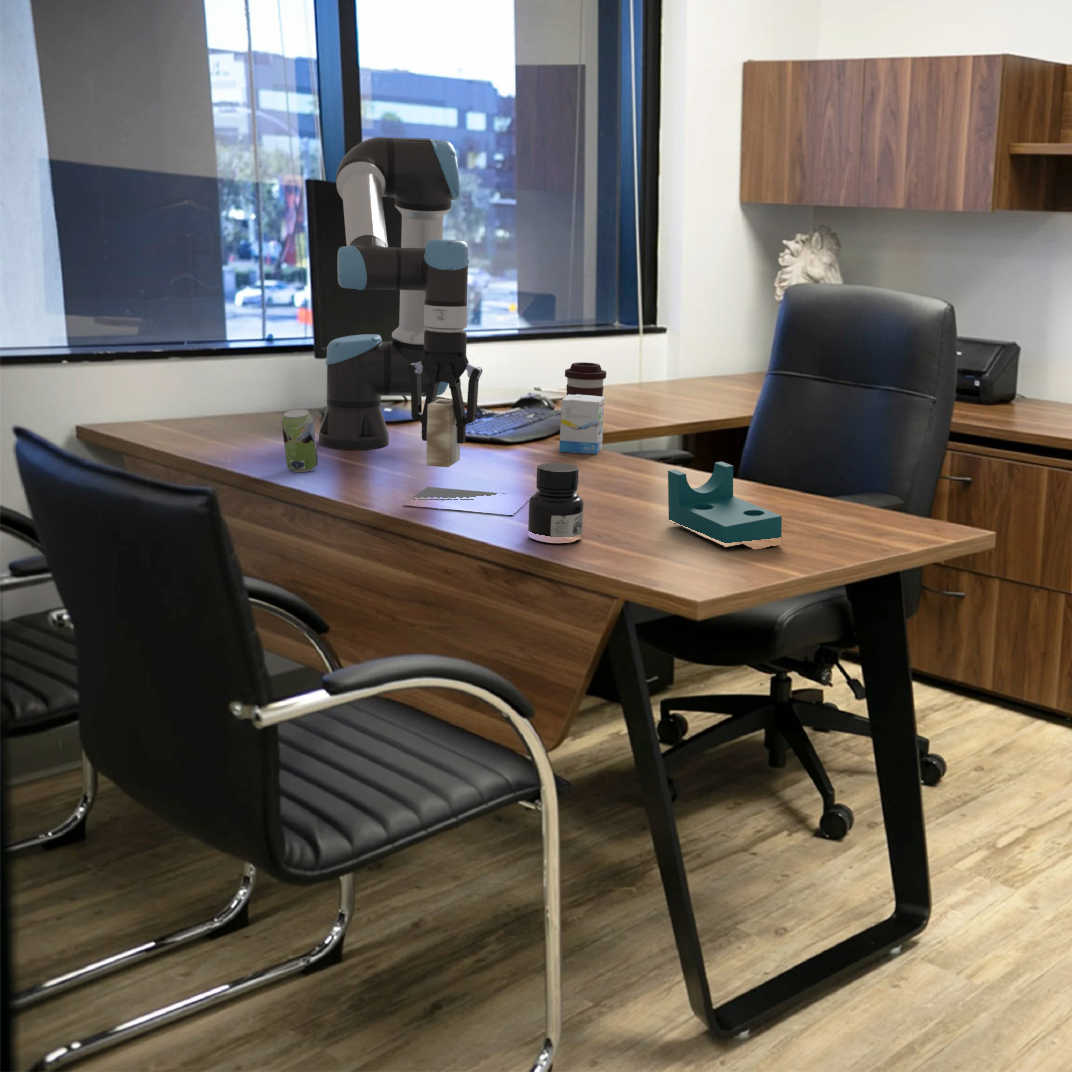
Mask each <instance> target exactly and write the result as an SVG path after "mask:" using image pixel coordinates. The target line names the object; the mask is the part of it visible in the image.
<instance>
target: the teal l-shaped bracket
mask: <svg viewBox="0 0 1072 1072" xmlns="http://www.w3.org/2000/svg"><path fill="white" fill-rule="evenodd" d="M667 489H668V490H667V492H668V493H667V494H668V496H667V497H668V499H667V503H668V521H669V520H672V521H674V522H676V523H678V524H680V525H683V526H685V527H688V528H690V529H692V530H695V531H697V532H700V533H703V534H705V535H707V536H709V537H711V538H714V539H716V540H719V541H721V542H724V543H732V542H742V541H752V540H761V539H771V538H779V537H781V538H782V529H783V528H782V523H783V522H782V521H783V519H782V515H780V514H777V513H775V512H773V511H770V510H768V509H766V508H763V507H761V506H759V505H755V504H754V503H751V502H749V501H746V500H744V499H741V498H740V497H739V498H738V497H736V496H734V465H732V464H730V463H726V462H724V461H716V462H714V467H713V471H712V473H711V476H710V478H709V479H708V480H707V481H706V482H705V483H704V484H702V485H701V486H698V487H691V486H690V484H689V482H688V478H687V473H685V472H682V471H681V470H678V469H676V468H675V469H671V470H670V469H669V470H667Z"/></svg>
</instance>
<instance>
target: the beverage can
mask: <svg viewBox="0 0 1072 1072" xmlns="http://www.w3.org/2000/svg"><path fill="white" fill-rule="evenodd" d="M281 429H282V435H283V444H284V445H283V446H284V452H285V453H284V454H285V461H286V467H287V468H288V469H289V470H290V471H292V472H295V473H305V472H306V473H308V472H311V471H313V470H314V469H315V468H316V467H317V466H318V464H319V461H318V452H317V442H316V434H315V433H316V432H315V425H314V417H313V415H311V413H310V411H309V410H307V409H300V408H299V409H297V408H296V409H291V410H290V409H289V410H288V411H285V412H283V417H282V419H281Z"/></svg>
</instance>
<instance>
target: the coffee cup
mask: <svg viewBox="0 0 1072 1072" xmlns="http://www.w3.org/2000/svg"><path fill="white" fill-rule="evenodd" d="M569 367H570V368H566V369H565V370H564V377H565V378H567V379H566V381H567V382H566V383H567V384H566V396H567V395H568V394H569V395H576V394H579V395H590V396H601V397H604V396H603V395H604V394H603V393H604V380H605V379H606V378H607V371H606V370H603V369H602V367H601V365H600V364H599V363H596V362H595V363H594V362H585V361H584V362H581V361H580V362H573V363H572V364H571V365H570V366H569Z"/></svg>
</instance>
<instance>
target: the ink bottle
mask: <svg viewBox="0 0 1072 1072" xmlns="http://www.w3.org/2000/svg"><path fill="white" fill-rule="evenodd" d="M536 466H537V467H536V489H537V491H535V494H533V495H531V498H530V500H529V501H528V502H529V504H528V527H527V530H528V531H530V532H532V533H534V534H539V535H545V536H550V537H574V536H576V535H580V534H582V535H583V528H584V527H583V526H584V525H583V524H584V522H583V521H584V500H583V498H582V497H581V496H580V495H579V493H577V492H576V491H578V489H579V470H580V468H579V467H578V466H577V465H574V464H571V463H564V462H545V463H541V464H538V465H536ZM528 531H527V532H528Z"/></svg>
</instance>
